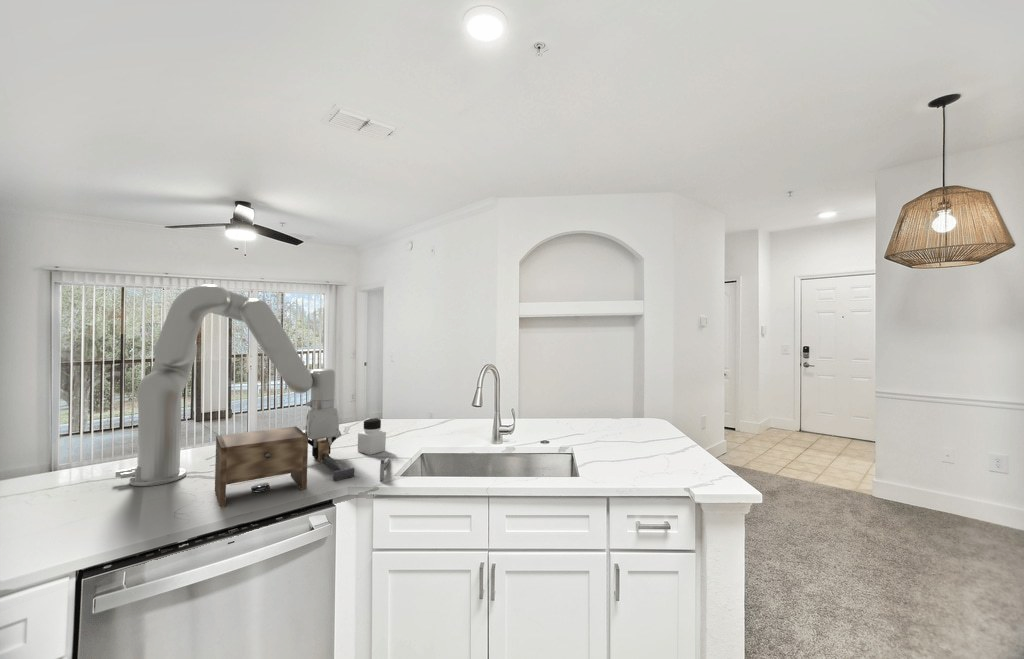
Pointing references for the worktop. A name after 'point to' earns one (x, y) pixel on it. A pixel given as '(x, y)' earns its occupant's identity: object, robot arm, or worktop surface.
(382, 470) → the caliper
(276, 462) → the walnut cabinet
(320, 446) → the scraper
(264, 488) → the steel token
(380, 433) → the medicine bottle
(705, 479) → the worktop surface
